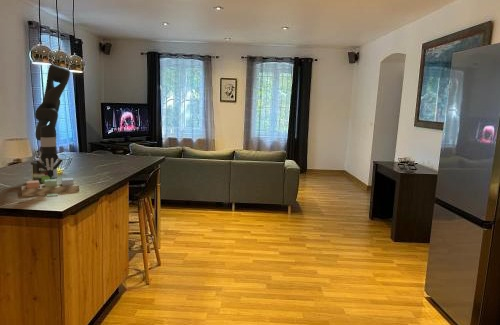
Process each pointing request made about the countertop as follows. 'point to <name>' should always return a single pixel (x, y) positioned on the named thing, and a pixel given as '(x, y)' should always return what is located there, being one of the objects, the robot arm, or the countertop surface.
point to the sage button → (50, 183)
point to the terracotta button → (32, 184)
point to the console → (49, 189)
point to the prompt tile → (52, 194)
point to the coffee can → (39, 172)
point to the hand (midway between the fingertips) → (50, 176)
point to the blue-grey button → (67, 181)
